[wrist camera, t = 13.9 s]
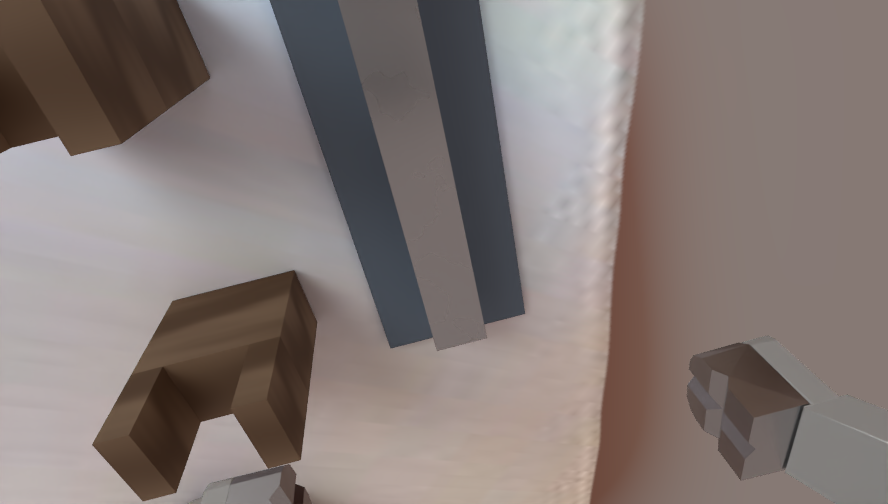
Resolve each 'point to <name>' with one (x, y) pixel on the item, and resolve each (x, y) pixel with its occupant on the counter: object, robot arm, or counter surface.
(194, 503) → the paper bowls
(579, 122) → the counter surface
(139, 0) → the cradles
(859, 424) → the robot arm
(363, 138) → the mat
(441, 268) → the rail
